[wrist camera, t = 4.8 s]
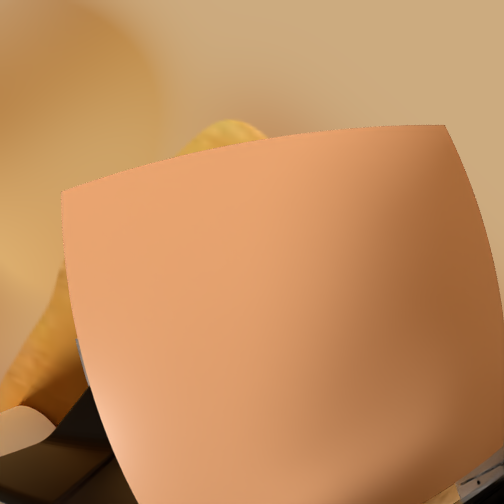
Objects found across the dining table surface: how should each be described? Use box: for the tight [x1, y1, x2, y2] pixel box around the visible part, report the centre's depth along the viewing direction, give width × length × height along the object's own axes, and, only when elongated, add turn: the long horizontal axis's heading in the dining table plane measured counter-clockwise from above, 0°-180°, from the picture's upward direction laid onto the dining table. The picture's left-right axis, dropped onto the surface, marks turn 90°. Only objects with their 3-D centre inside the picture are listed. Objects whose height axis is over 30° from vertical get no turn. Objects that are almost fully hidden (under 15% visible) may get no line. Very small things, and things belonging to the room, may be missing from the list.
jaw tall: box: [61, 125, 504, 504], centre depth 9 cm, size 5×5×13 cm
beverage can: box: [0, 406, 56, 456], centre depth 13 cm, size 8×8×12 cm
